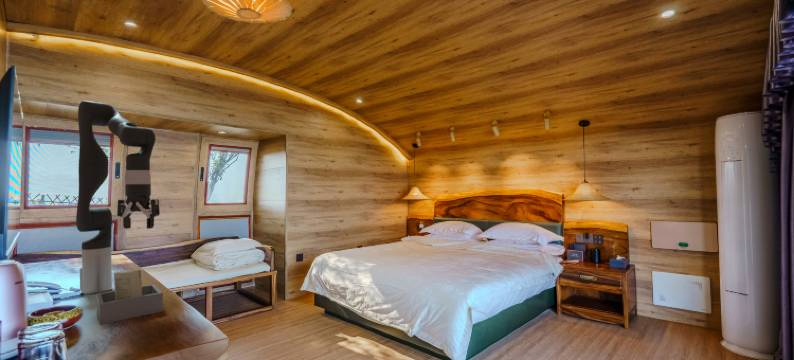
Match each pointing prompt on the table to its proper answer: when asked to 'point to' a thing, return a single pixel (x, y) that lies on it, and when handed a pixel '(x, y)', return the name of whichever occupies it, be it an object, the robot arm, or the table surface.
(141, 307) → the walled box
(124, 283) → the skincare box
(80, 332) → the table surface
